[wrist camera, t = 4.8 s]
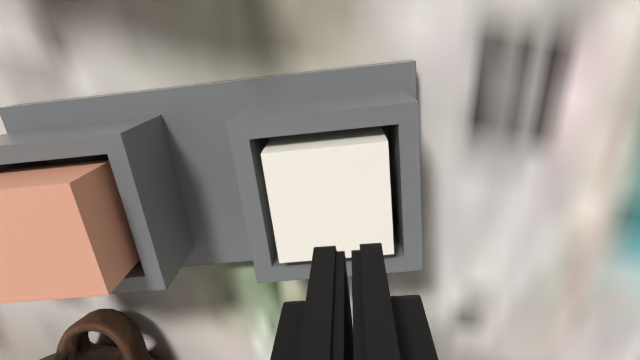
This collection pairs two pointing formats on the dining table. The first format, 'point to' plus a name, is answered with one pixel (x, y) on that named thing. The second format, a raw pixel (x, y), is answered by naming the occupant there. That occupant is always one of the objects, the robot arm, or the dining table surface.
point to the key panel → (222, 160)
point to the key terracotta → (62, 232)
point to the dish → (84, 356)
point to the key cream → (329, 191)
